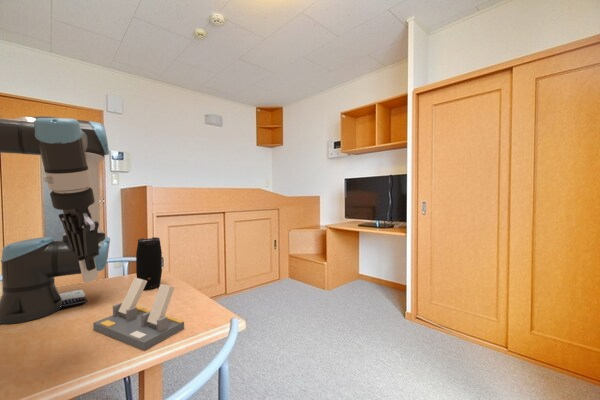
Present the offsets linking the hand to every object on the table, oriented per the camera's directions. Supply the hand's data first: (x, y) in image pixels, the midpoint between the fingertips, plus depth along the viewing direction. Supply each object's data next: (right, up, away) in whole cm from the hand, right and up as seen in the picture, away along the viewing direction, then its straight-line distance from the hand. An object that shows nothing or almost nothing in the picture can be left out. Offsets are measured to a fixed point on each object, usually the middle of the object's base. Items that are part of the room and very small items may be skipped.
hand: (90, 279), depth 69 cm
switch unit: (+7, -17, +9) cm, 20 cm away
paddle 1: (+1, -13, +11) cm, 17 cm away
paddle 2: (+13, -14, +6) cm, 20 cm away
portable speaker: (-8, -15, +42) cm, 45 cm away
